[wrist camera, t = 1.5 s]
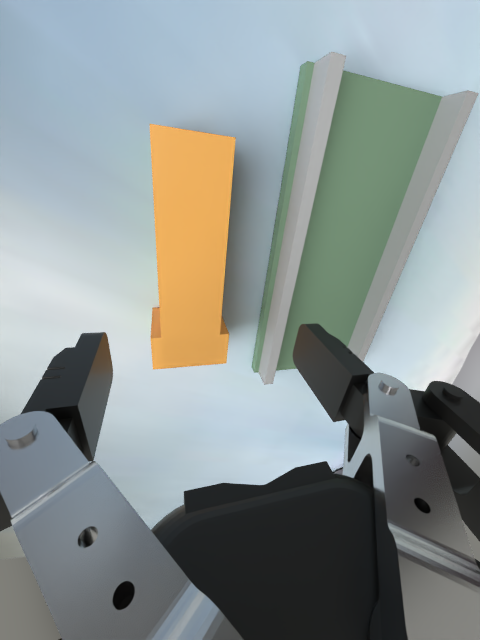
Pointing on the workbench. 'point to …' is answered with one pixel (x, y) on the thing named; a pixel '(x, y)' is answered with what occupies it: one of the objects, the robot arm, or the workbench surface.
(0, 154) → the workbench surface
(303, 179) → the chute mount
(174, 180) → the chute
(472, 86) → the workbench surface
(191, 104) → the workbench surface
